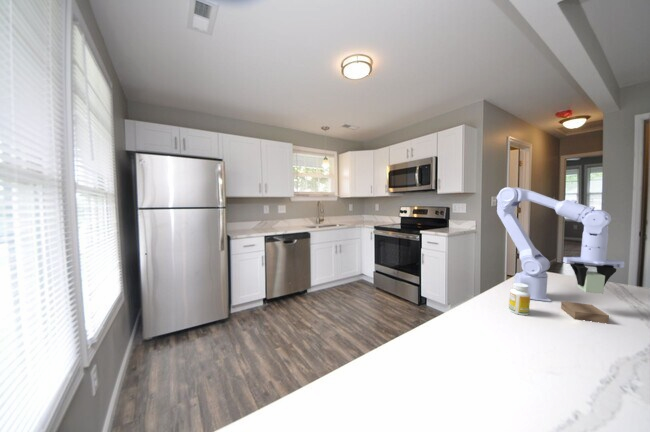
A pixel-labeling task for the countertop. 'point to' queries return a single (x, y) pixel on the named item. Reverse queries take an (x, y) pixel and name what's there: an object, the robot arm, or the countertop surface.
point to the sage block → (593, 283)
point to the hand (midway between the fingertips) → (590, 286)
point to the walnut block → (584, 312)
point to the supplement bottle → (519, 299)
